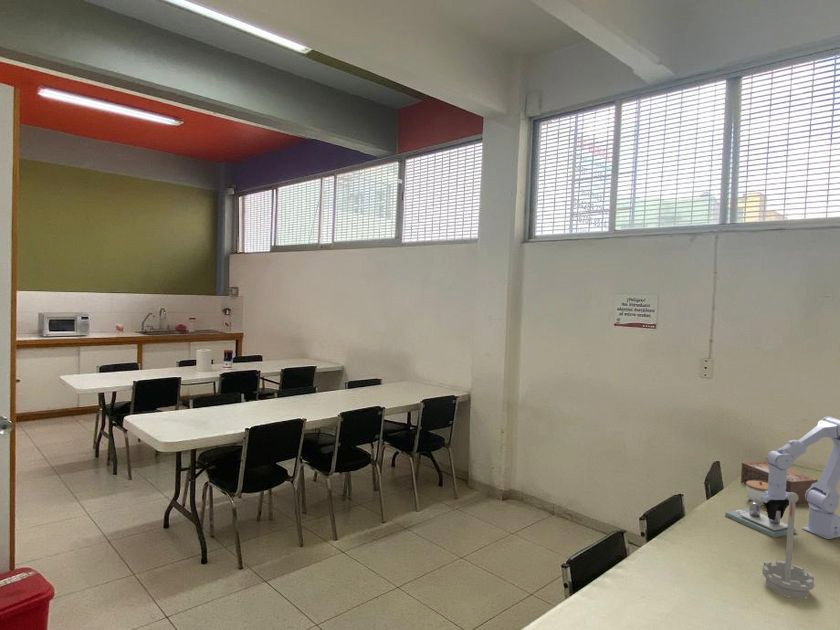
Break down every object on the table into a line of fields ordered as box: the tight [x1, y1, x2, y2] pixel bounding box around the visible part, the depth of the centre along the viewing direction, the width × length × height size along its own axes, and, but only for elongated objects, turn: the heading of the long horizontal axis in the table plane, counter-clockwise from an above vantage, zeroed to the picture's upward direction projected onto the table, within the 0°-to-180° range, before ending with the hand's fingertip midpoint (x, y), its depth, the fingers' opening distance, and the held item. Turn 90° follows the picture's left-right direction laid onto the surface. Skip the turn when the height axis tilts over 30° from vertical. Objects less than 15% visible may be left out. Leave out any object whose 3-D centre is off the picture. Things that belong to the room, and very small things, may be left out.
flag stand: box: [762, 492, 815, 599], centre depth 163 cm, size 13×13×30 cm
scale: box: [724, 507, 797, 539], centre depth 209 cm, size 20×12×3 cm, turn 22°
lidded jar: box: [745, 480, 768, 506], centre depth 231 cm, size 11×11×9 cm
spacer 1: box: [748, 501, 762, 517], centre depth 210 cm, size 4×4×5 cm
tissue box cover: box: [740, 460, 819, 505], centre depth 244 cm, size 26×14×10 cm, turn 14°
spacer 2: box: [769, 509, 781, 524], centre depth 203 cm, size 4×4×5 cm
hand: (775, 518), depth 203 cm, fingers closed on spacer 2, 3 cm apart
